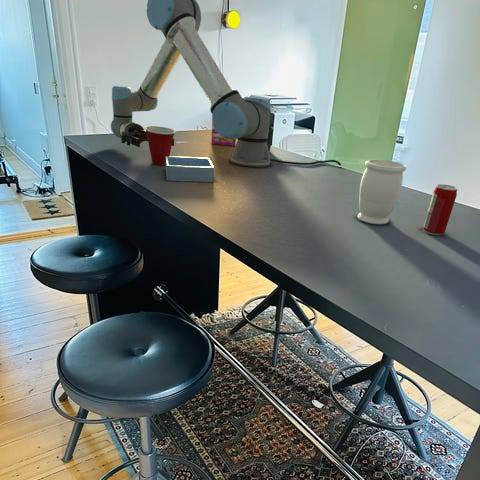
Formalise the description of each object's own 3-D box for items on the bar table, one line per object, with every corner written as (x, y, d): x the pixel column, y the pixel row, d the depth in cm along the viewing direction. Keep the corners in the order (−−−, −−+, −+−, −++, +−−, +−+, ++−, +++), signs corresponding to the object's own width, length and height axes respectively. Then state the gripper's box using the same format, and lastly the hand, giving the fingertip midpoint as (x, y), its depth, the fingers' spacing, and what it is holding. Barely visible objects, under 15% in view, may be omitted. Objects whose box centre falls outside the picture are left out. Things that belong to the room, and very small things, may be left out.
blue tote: (208, 171, 157) (209, 158, 154) (213, 182, 144) (214, 167, 142) (165, 169, 154) (165, 156, 152) (167, 180, 141) (166, 165, 139)
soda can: (448, 235, 114) (464, 188, 108) (431, 236, 113) (445, 188, 107) (435, 228, 119) (449, 182, 113) (417, 228, 117) (431, 182, 111)
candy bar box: (236, 145, 209) (239, 106, 200) (234, 146, 204) (237, 107, 196) (213, 142, 210) (214, 104, 201) (211, 144, 206) (212, 105, 197)
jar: (385, 229, 115) (400, 169, 107) (348, 220, 119) (359, 162, 112) (396, 219, 123) (411, 163, 115) (360, 211, 127) (372, 157, 120)
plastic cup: (160, 168, 156) (159, 131, 149) (139, 162, 161) (138, 126, 155) (181, 164, 163) (182, 129, 157) (161, 159, 168) (160, 125, 162)
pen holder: (251, 148, 204) (253, 124, 199) (271, 150, 203) (273, 126, 198) (248, 151, 196) (250, 127, 191) (269, 153, 195) (272, 129, 190)
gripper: (161, 142, 184) (186, 152, 169) (102, 143, 171) (124, 154, 156) (161, 122, 180) (186, 130, 165) (101, 122, 167) (122, 131, 152)
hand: (156, 142), depth 161 cm, fingers open, 13 cm apart
